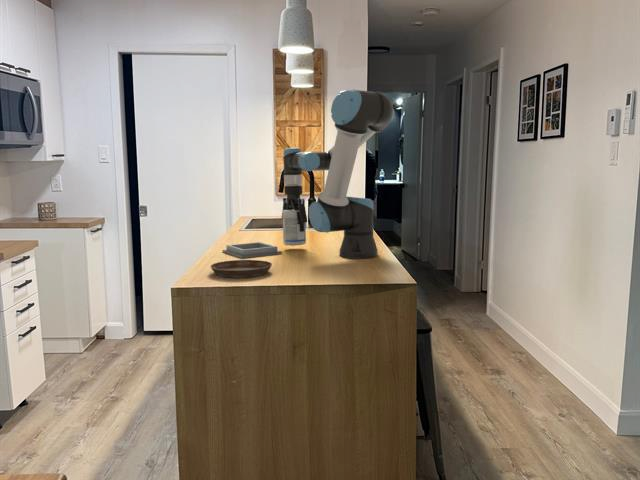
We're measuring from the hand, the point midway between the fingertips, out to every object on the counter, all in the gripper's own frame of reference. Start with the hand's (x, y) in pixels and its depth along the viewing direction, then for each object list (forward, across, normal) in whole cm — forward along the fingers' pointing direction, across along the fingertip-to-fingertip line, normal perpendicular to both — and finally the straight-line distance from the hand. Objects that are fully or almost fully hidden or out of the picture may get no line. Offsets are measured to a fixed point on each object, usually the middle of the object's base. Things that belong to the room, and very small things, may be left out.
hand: (294, 238), depth 238 cm
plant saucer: (+6, -31, +40) cm, 51 cm away
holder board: (+5, +3, +19) cm, 20 cm away
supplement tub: (+3, 0, 0) cm, 3 cm away
